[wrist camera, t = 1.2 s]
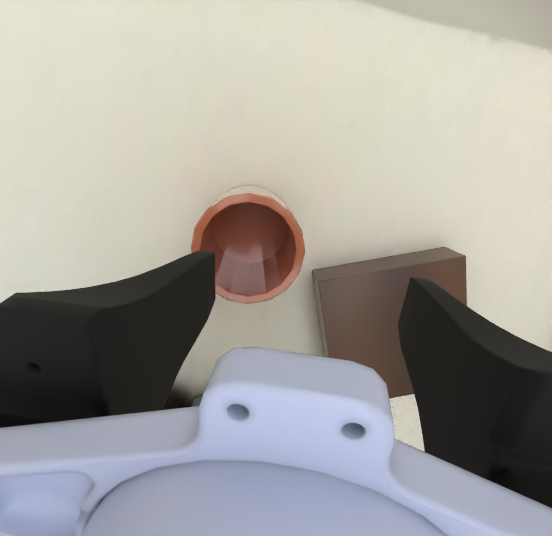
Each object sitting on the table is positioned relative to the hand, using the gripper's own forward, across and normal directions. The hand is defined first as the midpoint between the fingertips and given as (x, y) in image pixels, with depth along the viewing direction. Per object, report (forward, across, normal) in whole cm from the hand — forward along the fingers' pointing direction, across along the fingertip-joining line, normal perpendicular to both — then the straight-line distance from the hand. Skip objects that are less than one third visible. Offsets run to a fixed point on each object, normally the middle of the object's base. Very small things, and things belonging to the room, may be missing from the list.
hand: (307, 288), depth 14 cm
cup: (+10, +4, +2) cm, 11 cm away
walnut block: (+10, -6, +8) cm, 14 cm away
